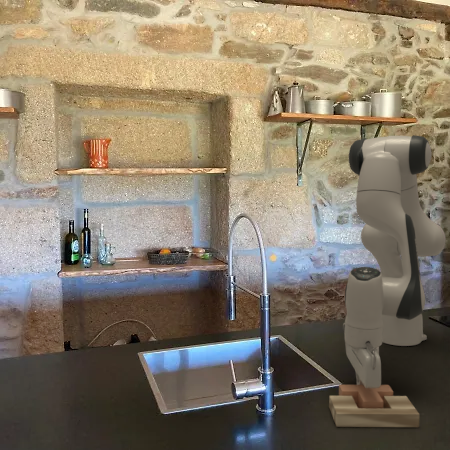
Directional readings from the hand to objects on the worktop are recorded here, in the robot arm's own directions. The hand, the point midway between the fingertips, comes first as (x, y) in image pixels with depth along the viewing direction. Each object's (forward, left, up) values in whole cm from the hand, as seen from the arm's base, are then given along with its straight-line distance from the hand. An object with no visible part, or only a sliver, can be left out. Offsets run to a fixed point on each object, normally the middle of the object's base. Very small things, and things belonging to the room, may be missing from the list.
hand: (361, 389), depth 122 cm
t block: (+6, 0, -2) cm, 6 cm away
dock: (+9, 0, -2) cm, 10 cm away
